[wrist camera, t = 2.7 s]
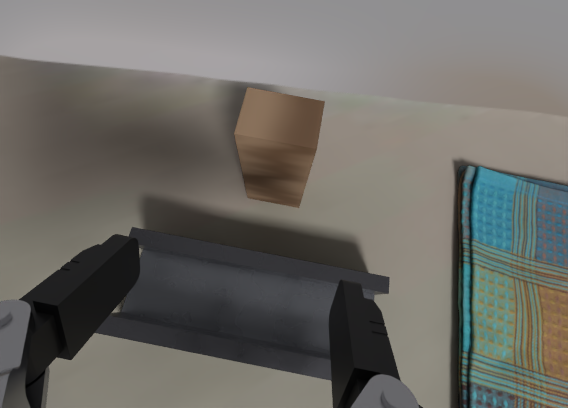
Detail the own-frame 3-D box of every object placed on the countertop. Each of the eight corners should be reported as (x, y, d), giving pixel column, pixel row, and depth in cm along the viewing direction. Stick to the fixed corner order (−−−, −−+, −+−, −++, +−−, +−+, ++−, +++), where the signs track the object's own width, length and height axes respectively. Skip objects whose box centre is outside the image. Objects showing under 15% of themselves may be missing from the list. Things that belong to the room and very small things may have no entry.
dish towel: (617, 205, 29) (648, 197, 27) (666, 485, 22) (715, 508, 19) (453, 168, 30) (469, 156, 28) (444, 427, 22) (465, 442, 20)
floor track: (121, 327, 23) (92, 332, 19) (152, 238, 25) (132, 227, 22) (364, 376, 23) (383, 390, 19) (371, 281, 25) (389, 277, 21)
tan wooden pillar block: (247, 197, 27) (234, 133, 17) (255, 166, 28) (247, 87, 18) (298, 207, 27) (316, 149, 17) (304, 175, 28) (324, 101, 18)
